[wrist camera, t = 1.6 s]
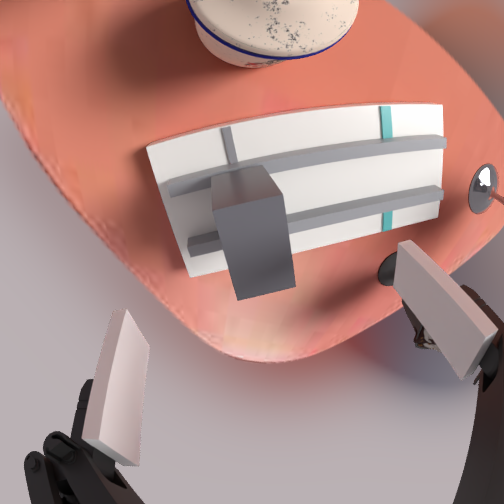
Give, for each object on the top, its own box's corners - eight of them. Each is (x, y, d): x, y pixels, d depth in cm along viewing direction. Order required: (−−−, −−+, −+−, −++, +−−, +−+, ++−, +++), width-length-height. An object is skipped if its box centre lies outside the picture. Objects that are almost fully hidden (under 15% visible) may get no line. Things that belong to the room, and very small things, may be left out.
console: (150, 142, 21) (141, 151, 18) (429, 102, 21) (452, 107, 18) (190, 265, 27) (189, 288, 24) (427, 209, 28) (446, 223, 25)
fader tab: (210, 170, 21) (212, 210, 14) (258, 159, 21) (283, 194, 14) (228, 239, 24) (237, 300, 17) (271, 229, 24) (295, 286, 17)
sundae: (370, 254, 30) (448, 357, 17) (418, 237, 30) (502, 323, 17) (370, 297, 33) (430, 395, 21) (414, 280, 33) (480, 364, 20)
